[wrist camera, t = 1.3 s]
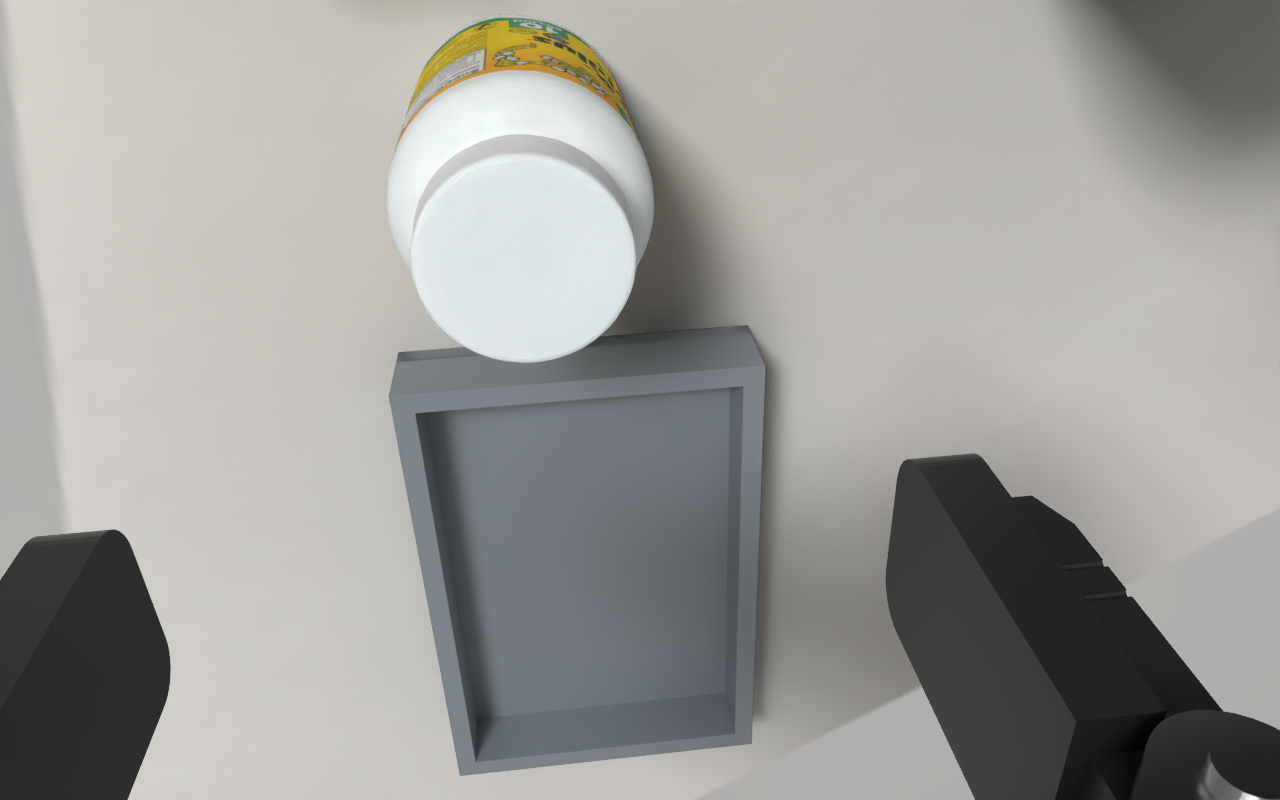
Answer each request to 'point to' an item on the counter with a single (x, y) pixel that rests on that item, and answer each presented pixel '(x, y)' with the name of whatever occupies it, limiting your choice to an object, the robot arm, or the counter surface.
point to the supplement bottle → (519, 191)
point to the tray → (589, 543)
